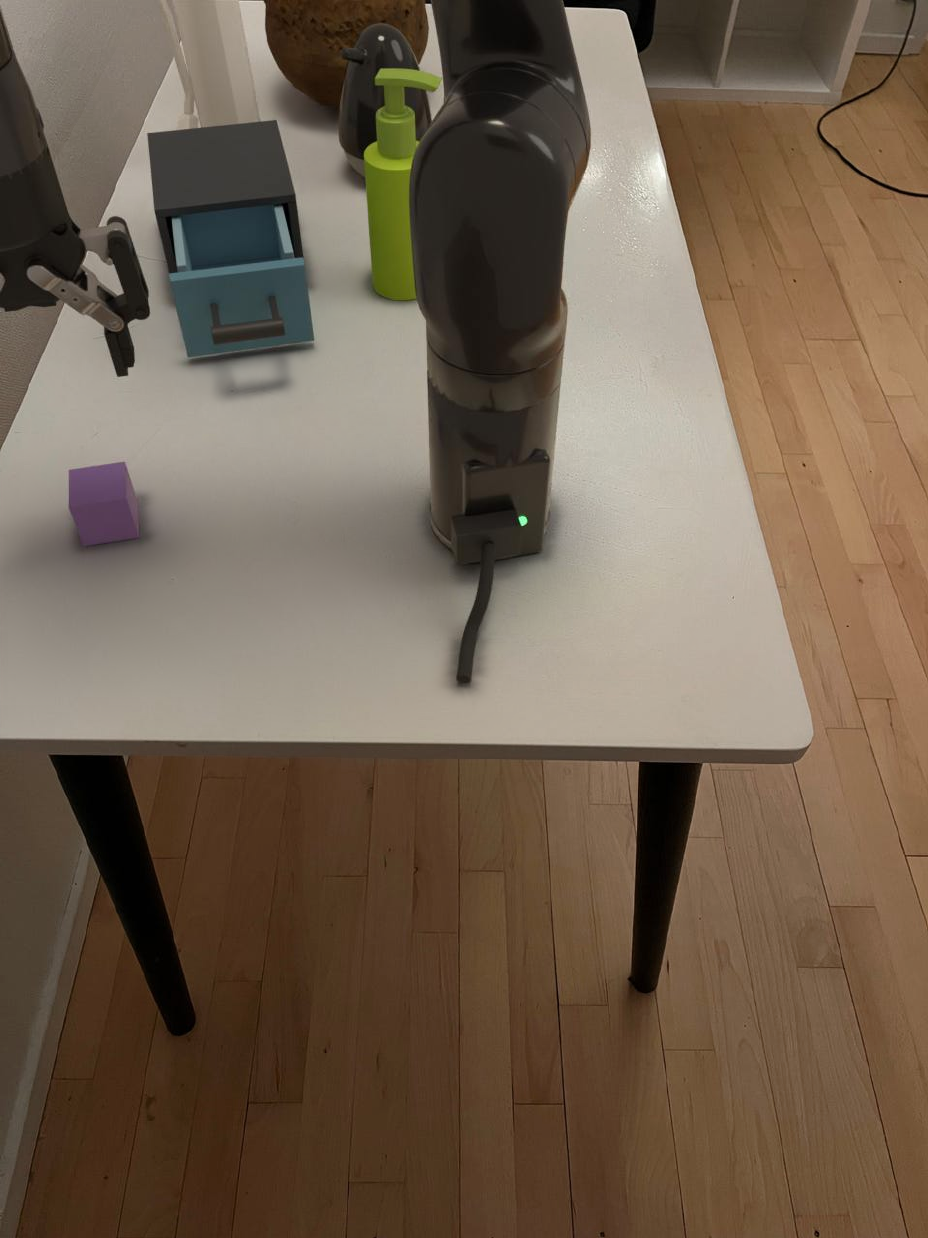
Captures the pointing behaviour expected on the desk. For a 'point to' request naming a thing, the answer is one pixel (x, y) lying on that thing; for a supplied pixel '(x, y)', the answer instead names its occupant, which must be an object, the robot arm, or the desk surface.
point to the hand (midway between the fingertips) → (59, 377)
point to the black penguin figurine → (375, 89)
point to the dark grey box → (220, 175)
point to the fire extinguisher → (211, 62)
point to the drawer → (238, 281)
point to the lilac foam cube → (103, 503)
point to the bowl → (333, 38)
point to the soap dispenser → (393, 183)
